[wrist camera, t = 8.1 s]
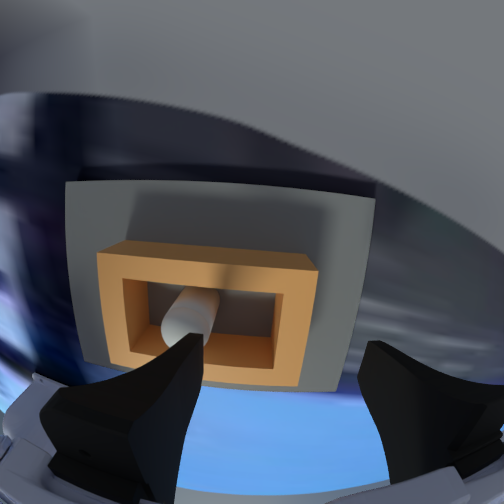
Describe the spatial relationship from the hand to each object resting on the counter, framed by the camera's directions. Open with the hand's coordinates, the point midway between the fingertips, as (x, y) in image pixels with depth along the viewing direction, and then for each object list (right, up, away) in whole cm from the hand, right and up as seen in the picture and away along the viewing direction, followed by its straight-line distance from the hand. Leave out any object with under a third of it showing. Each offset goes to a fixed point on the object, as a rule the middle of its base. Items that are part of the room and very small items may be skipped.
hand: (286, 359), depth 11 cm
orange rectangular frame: (-4, +2, +6) cm, 7 cm away
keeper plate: (-5, +2, +7) cm, 8 cm away
